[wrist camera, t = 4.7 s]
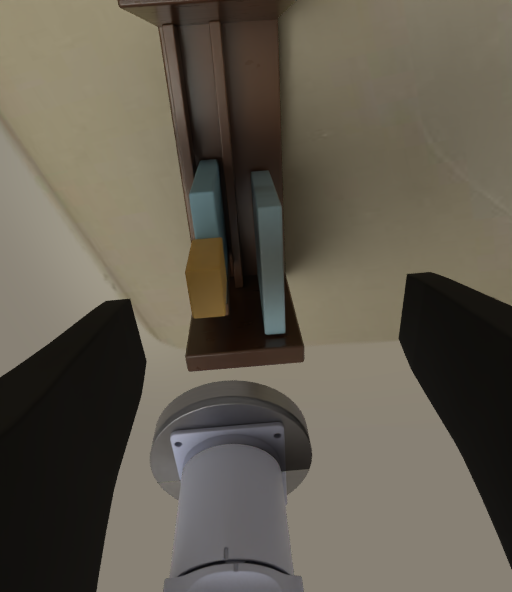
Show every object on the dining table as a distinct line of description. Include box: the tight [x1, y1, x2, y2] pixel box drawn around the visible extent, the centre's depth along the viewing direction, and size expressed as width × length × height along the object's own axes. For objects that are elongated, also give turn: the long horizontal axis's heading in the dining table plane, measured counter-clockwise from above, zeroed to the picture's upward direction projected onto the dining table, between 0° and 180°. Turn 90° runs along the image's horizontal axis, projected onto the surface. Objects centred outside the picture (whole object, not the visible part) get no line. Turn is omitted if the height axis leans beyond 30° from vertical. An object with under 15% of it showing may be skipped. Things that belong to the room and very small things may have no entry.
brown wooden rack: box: [118, 0, 304, 371], centre depth 15 cm, size 12×4×7 cm, turn 4°
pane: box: [185, 159, 230, 319], centre depth 15 cm, size 5×1×7 cm, turn 4°
